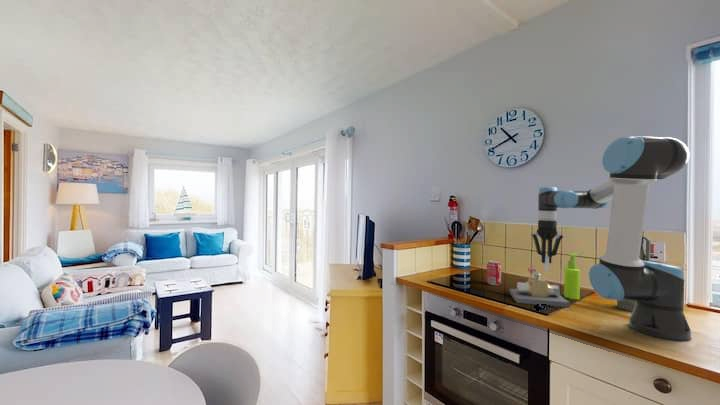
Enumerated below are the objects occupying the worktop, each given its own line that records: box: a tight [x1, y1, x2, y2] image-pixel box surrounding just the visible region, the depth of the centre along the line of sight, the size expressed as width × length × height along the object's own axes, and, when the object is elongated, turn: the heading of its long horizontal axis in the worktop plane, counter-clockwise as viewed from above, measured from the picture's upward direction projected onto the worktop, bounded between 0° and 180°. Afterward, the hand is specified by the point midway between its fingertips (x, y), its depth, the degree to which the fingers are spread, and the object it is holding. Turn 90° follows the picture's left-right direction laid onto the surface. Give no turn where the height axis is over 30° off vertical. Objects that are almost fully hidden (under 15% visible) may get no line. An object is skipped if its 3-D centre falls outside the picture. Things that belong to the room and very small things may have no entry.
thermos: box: [616, 230, 652, 312], centre depth 129 cm, size 9×12×35 cm
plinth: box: [509, 288, 571, 308], centre depth 140 cm, size 16×20×2 cm
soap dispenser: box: [563, 253, 583, 300], centre depth 144 cm, size 6×7×20 cm
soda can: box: [486, 260, 502, 286], centre depth 166 cm, size 7×7×12 cm
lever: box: [527, 267, 542, 278], centre depth 145 cm, size 13×3×2 cm, turn 165°
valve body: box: [516, 277, 561, 298], centre depth 140 cm, size 6×16×8 cm, turn 75°
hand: (546, 269), depth 147 cm, fingers closed
